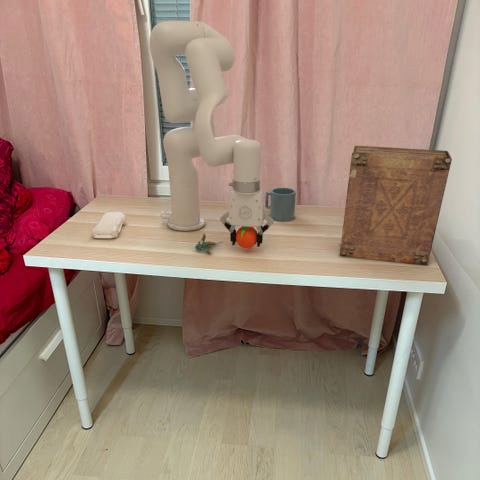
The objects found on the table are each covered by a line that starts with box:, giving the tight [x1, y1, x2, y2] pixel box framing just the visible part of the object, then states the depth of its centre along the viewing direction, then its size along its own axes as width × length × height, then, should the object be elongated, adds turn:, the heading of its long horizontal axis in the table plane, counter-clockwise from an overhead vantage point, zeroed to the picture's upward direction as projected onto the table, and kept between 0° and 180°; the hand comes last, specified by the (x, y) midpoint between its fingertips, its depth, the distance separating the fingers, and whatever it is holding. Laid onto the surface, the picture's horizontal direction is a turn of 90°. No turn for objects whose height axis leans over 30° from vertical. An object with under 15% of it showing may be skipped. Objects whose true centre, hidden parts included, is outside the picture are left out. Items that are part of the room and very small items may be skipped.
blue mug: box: [264, 187, 297, 222], centre depth 171 cm, size 12×9×10 cm
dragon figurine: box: [194, 233, 223, 255], centre depth 147 cm, size 7×7×8 cm
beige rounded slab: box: [91, 211, 127, 239], centre depth 160 cm, size 18×8×4 cm, turn 179°
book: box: [339, 145, 453, 266], centre depth 136 cm, size 25×9×30 cm, turn 75°
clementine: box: [235, 226, 258, 249], centre depth 144 cm, size 8×7×7 cm
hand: (246, 244), depth 145 cm, fingers closed on clementine, 7 cm apart
